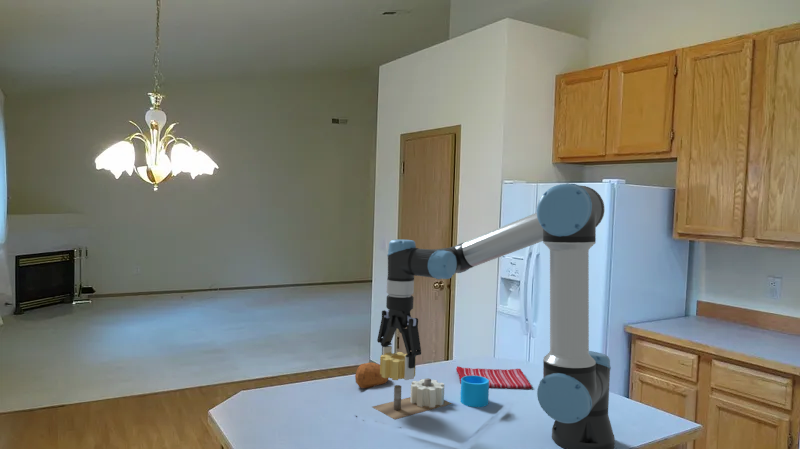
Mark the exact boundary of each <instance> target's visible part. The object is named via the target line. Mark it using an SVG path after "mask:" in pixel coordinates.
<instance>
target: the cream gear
mask: <svg viewBox="0 0 800 449" xmlns="http://www.w3.org/2000/svg"><path fill="white" fill-rule="evenodd" d="M424 379H425V378H423V379H419V380H418V381H417V380H413V381H412V382H411V384H410V397H411V398H410V402H411V403H416V404H417V406H419V407H423V406H429V407H430V408H432V407H435V405H440V406H441V405H443V404H444V400H445V383H444V382H439V381H438V380H436V379H431V387H425V386H424Z"/></svg>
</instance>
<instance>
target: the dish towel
mask: <svg viewBox="0 0 800 449" xmlns="http://www.w3.org/2000/svg"><path fill="white" fill-rule="evenodd" d="M455 370H456V373H457V374H458V379H459V383H460V385H461V378H462V377H464V376H481V377H485V378H487V379H488V380H489V389H505V388H507V389H508V390H509V389H510V390H513V389H514V390H532V388H533V386H532V385H531V383H530V382H529V380H528V378H527V376H525V374H524V372H523V371H522V369H521V368H510V369H499V368H498V369H496V368H495V369H494V368H479V367H477V368H471V367H462V366H456V368H455ZM507 389H506V390H507Z"/></svg>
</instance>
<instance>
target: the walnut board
mask: <svg viewBox="0 0 800 449" xmlns="http://www.w3.org/2000/svg"><path fill="white" fill-rule="evenodd" d="M423 379H424V386H425V387H431V380H432V379H431V378H423ZM393 388H394V389H393V391H394V392H393V401H390V402H386V403H381V404H377V405H373V406H372V408H373V409H375V410H377V411H378V412H381V413H382V414H383V415H386V416H388V417H389V418H391V419H393V420H398V419H401V418H406V417H409V416H413V415H417V414H420V413H424V412H425V413H426V412H428V411H432V410H435V409H438V408H443V407H446V406H450V405H453V403H452V402H450V401H447V400H445V399H444V404H443V405H441V406H440V405H435V407H432V408H430V407H429V406H423V407H419V406H417V404H416V403H411V402H410V398H411V396H409V397H405V398H402V385H399V384H396V385H394V386H393Z"/></svg>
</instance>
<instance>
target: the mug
mask: <svg viewBox="0 0 800 449" xmlns="http://www.w3.org/2000/svg"><path fill="white" fill-rule="evenodd" d="M489 389H490V388H489V380H488V379H487V378H485V377H481V376H464V377H462V378H461V384H460V403H461V404H463V406H466V407H471V408H484V407H486V406H488V405H489V395H490V394H489V392H490V390H489Z"/></svg>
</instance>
